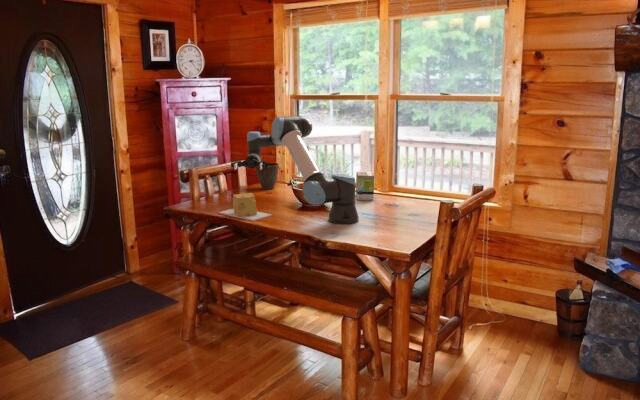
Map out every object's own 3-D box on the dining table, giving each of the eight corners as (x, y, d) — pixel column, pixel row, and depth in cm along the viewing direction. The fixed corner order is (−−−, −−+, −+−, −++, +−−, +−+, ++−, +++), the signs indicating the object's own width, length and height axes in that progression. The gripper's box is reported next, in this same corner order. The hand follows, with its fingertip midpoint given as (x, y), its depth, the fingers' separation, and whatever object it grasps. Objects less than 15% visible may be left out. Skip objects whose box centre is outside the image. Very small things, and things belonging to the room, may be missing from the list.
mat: (271, 215, 271) (271, 214, 271) (253, 221, 261) (253, 219, 261) (237, 208, 287) (237, 207, 286) (219, 213, 277) (219, 212, 276)
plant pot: (251, 189, 338) (250, 164, 334) (268, 185, 349) (267, 161, 345) (267, 192, 329) (266, 167, 325) (284, 188, 340) (283, 164, 336)
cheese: (257, 215, 270) (256, 196, 267) (236, 217, 266) (235, 198, 264) (252, 210, 279) (252, 192, 277) (232, 212, 276) (232, 193, 273)
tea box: (374, 200, 305) (374, 175, 301) (357, 200, 305) (357, 175, 301) (372, 194, 319) (372, 170, 316) (355, 194, 319) (355, 171, 316)
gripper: (274, 167, 296) (271, 173, 275) (230, 167, 296) (224, 174, 275) (274, 154, 294) (271, 159, 274) (230, 154, 294) (223, 160, 274)
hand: (247, 167), depth 274 cm, fingers open, 13 cm apart
